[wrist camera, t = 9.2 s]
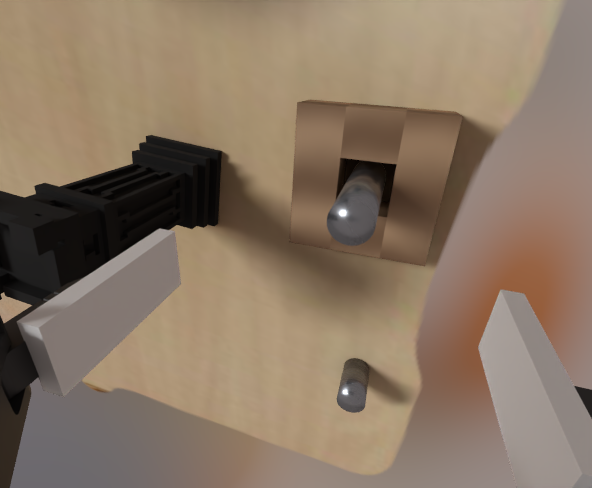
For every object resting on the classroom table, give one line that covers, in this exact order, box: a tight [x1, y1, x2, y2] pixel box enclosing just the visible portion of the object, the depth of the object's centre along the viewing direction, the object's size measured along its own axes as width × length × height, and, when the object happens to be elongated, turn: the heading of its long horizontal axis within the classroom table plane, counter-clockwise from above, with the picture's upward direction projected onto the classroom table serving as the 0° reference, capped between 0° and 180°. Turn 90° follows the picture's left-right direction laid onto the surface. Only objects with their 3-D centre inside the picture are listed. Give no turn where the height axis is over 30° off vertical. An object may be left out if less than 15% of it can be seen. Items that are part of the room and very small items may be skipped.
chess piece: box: [0, 135, 221, 305], centre depth 29 cm, size 8×8×20 cm
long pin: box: [327, 160, 386, 246], centre depth 27 cm, size 3×3×12 cm
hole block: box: [290, 100, 463, 266], centre depth 30 cm, size 12×12×4 cm
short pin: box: [337, 358, 369, 413], centre depth 39 cm, size 3×3×5 cm
